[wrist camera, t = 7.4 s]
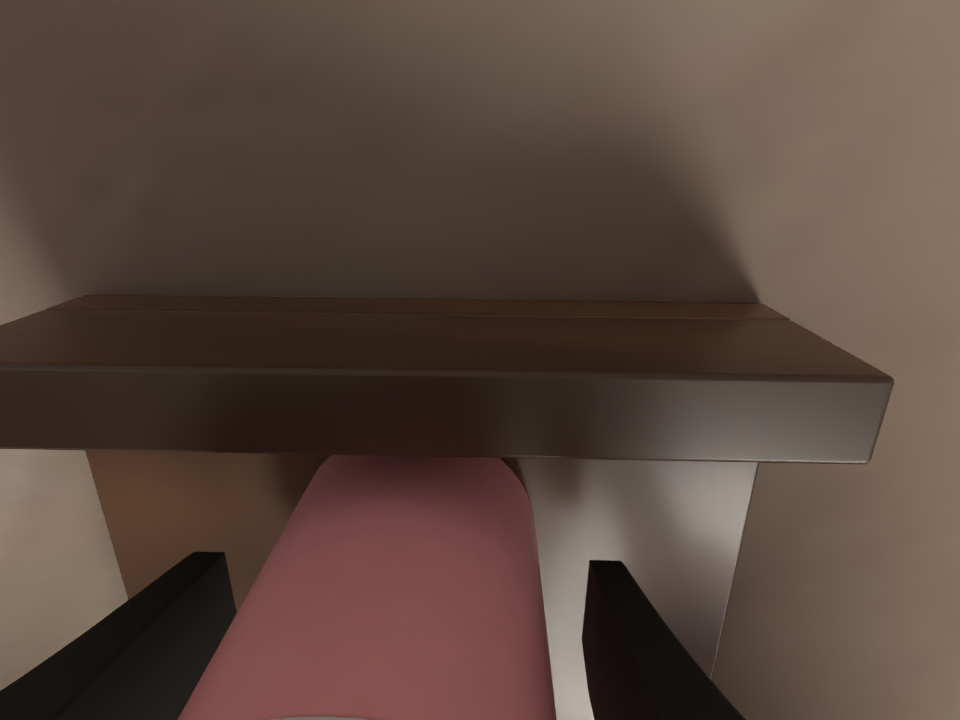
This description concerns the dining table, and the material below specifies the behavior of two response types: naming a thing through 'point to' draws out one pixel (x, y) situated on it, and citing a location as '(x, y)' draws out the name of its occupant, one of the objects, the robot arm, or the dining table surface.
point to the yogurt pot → (392, 602)
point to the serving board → (443, 427)
